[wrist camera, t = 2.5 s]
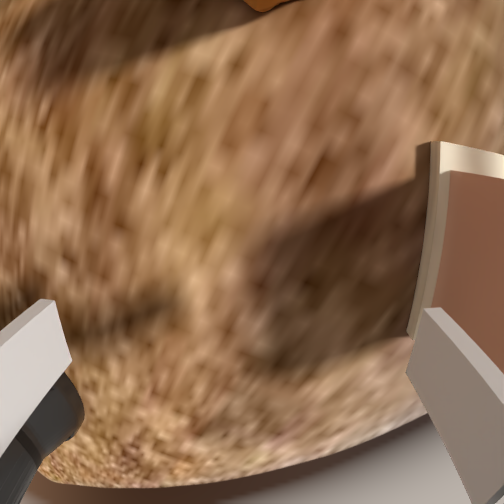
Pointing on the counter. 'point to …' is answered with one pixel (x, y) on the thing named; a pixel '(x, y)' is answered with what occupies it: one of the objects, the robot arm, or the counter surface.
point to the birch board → (444, 213)
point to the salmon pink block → (474, 261)
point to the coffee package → (263, 4)
